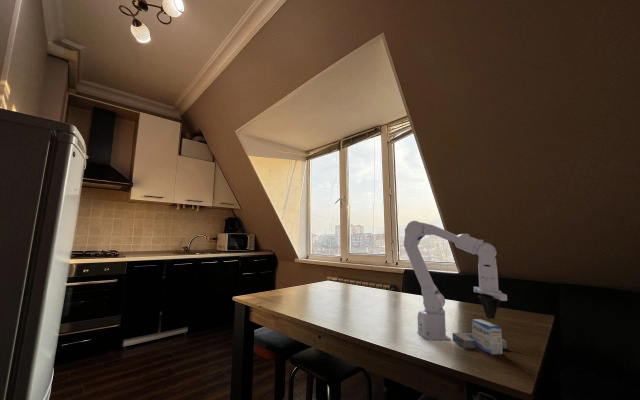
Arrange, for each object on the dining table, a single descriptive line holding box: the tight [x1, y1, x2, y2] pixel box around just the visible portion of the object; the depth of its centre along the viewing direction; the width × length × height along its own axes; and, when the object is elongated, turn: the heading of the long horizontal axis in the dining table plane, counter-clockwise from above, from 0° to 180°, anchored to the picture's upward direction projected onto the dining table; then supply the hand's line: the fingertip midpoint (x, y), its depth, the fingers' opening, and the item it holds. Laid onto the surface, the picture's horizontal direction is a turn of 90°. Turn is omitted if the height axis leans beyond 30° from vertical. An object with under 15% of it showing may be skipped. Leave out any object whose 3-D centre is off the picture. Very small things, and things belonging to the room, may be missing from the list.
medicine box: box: [471, 318, 504, 355], centre depth 89 cm, size 8×4×9 cm, turn 13°
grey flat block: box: [452, 332, 508, 350], centre depth 92 cm, size 15×7×2 cm, turn 93°
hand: (490, 318), depth 90 cm, fingers closed
